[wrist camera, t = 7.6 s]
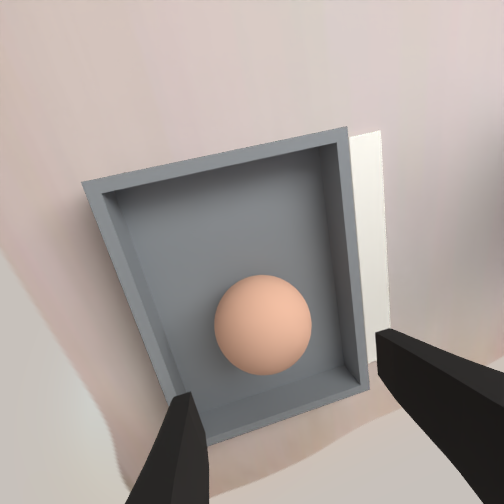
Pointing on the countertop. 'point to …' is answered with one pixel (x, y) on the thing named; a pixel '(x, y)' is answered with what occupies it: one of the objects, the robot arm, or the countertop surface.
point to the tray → (240, 271)
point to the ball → (262, 325)
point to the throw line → (370, 234)
